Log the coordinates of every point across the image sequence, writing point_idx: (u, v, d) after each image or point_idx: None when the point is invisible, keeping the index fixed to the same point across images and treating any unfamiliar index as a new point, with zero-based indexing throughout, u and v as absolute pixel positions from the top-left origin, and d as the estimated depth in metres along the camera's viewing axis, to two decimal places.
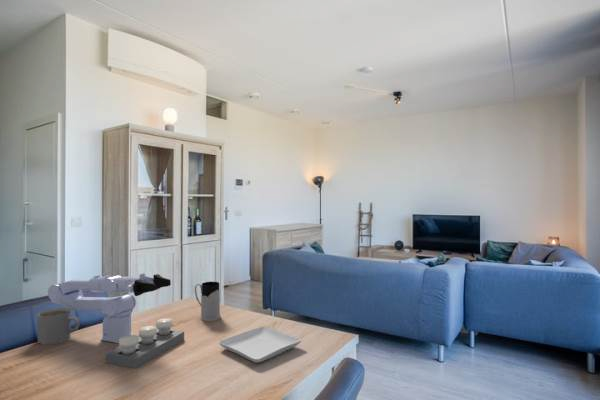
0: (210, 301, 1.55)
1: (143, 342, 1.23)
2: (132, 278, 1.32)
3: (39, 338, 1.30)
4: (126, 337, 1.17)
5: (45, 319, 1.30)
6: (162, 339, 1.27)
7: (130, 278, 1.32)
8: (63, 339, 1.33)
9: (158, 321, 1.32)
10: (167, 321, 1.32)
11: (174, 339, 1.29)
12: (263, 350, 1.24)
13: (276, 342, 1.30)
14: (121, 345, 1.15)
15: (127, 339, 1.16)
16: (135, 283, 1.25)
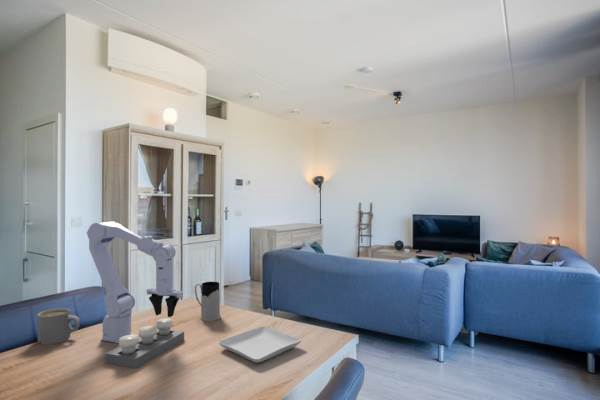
0: (210, 301, 1.55)
1: (143, 342, 1.23)
2: None
3: (39, 338, 1.30)
4: (126, 337, 1.17)
5: (45, 319, 1.30)
6: (162, 339, 1.27)
7: None
8: (63, 339, 1.33)
9: (158, 321, 1.32)
10: (167, 321, 1.32)
11: (174, 339, 1.29)
12: (263, 350, 1.24)
13: (276, 342, 1.30)
14: (121, 345, 1.15)
15: (127, 339, 1.16)
16: (178, 298, 1.33)
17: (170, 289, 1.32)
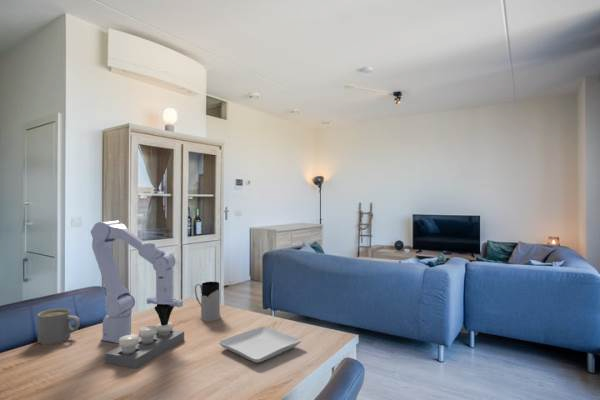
0: (210, 301, 1.55)
1: (143, 342, 1.23)
2: None
3: (39, 338, 1.30)
4: (126, 337, 1.17)
5: (45, 319, 1.30)
6: (162, 339, 1.27)
7: None
8: (63, 339, 1.33)
9: (158, 325, 1.32)
10: (167, 325, 1.32)
11: (174, 339, 1.29)
12: (263, 350, 1.24)
13: (276, 342, 1.30)
14: (121, 345, 1.15)
15: (127, 339, 1.16)
16: (173, 306, 1.34)
17: (170, 298, 1.32)
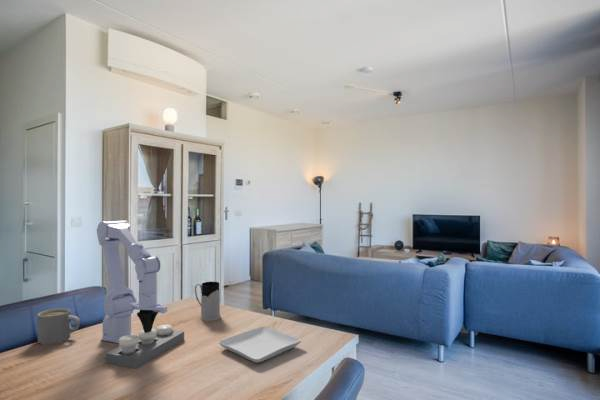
0: (210, 301, 1.55)
1: None
2: None
3: (39, 338, 1.30)
4: (126, 337, 1.17)
5: (45, 319, 1.30)
6: (162, 339, 1.27)
7: None
8: (63, 339, 1.33)
9: (158, 327, 1.32)
10: (167, 327, 1.33)
11: (174, 339, 1.29)
12: (263, 350, 1.24)
13: (276, 342, 1.30)
14: (121, 345, 1.15)
15: (127, 339, 1.16)
16: (157, 312, 1.26)
17: (154, 304, 1.24)
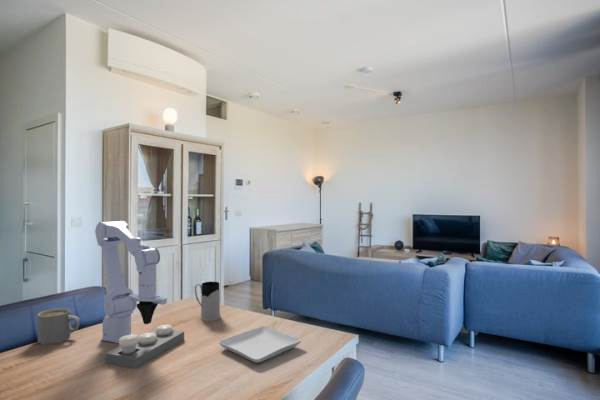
0: (210, 301, 1.55)
1: None
2: None
3: (39, 338, 1.30)
4: (126, 337, 1.17)
5: (45, 319, 1.30)
6: (162, 339, 1.27)
7: None
8: (63, 339, 1.33)
9: (158, 327, 1.32)
10: (167, 327, 1.33)
11: (174, 339, 1.29)
12: (263, 350, 1.24)
13: (276, 342, 1.30)
14: (121, 345, 1.15)
15: (127, 339, 1.16)
16: (156, 303, 1.26)
17: (153, 295, 1.24)
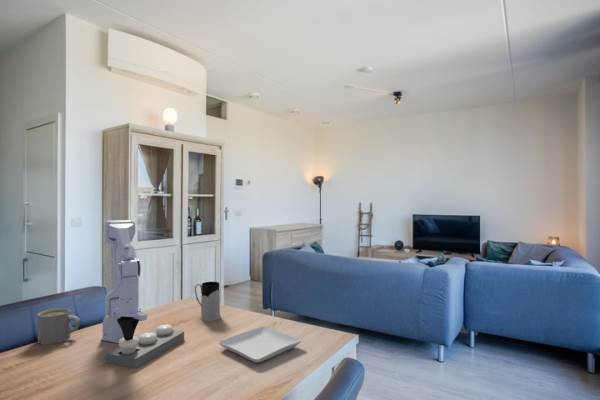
0: (210, 301, 1.55)
1: None
2: None
3: (39, 338, 1.30)
4: None
5: (45, 319, 1.30)
6: (162, 339, 1.27)
7: None
8: (63, 339, 1.33)
9: (158, 327, 1.32)
10: (167, 327, 1.33)
11: (174, 339, 1.29)
12: (263, 350, 1.24)
13: (276, 342, 1.30)
14: (121, 346, 1.15)
15: None
16: None
17: (134, 310, 1.15)
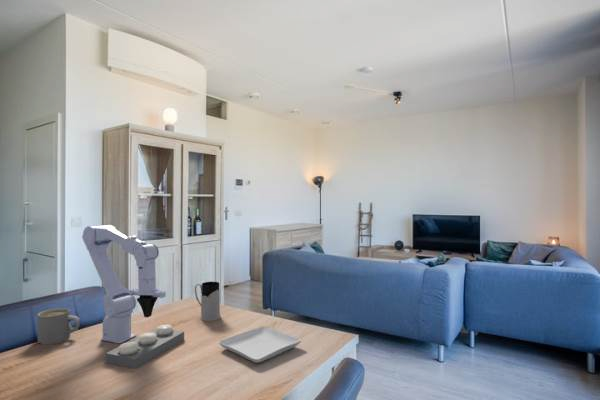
0: (210, 301, 1.55)
1: None
2: None
3: (39, 338, 1.30)
4: (126, 345, 1.17)
5: (45, 319, 1.30)
6: (162, 339, 1.27)
7: None
8: (63, 339, 1.33)
9: (158, 327, 1.32)
10: (167, 327, 1.33)
11: (174, 339, 1.29)
12: (263, 350, 1.24)
13: (276, 342, 1.30)
14: (121, 352, 1.15)
15: (127, 346, 1.16)
16: (156, 297, 1.30)
17: (153, 289, 1.28)
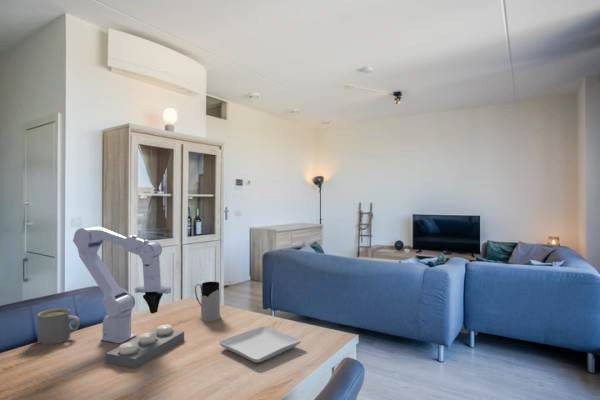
0: (210, 301, 1.55)
1: None
2: None
3: (39, 338, 1.30)
4: (126, 345, 1.17)
5: (45, 319, 1.30)
6: (162, 339, 1.27)
7: None
8: (63, 339, 1.33)
9: (158, 327, 1.32)
10: (167, 327, 1.33)
11: (174, 339, 1.29)
12: (263, 350, 1.24)
13: (276, 342, 1.30)
14: (121, 352, 1.15)
15: (127, 346, 1.16)
16: (161, 294, 1.34)
17: (158, 286, 1.32)
